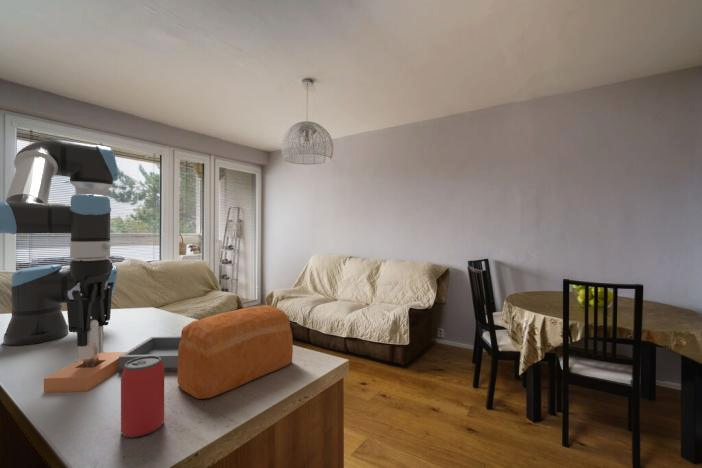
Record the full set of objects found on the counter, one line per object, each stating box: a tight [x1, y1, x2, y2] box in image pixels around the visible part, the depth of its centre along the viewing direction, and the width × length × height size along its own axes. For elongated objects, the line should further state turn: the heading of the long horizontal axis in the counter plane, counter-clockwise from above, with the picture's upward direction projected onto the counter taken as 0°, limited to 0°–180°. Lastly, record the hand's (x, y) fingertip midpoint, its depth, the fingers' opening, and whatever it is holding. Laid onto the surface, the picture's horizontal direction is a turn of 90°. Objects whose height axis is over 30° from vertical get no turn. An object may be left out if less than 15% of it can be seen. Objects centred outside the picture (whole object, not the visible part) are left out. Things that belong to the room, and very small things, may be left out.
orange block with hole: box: [43, 351, 127, 393], centre depth 78 cm, size 15×9×3 cm, turn 4°
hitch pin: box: [83, 318, 99, 368], centre depth 78 cm, size 3×3×14 cm
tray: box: [118, 335, 181, 374], centre depth 88 cm, size 15×15×4 cm
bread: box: [177, 304, 294, 400], centre depth 80 cm, size 14×26×16 cm, turn 142°
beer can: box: [120, 356, 165, 438], centre depth 58 cm, size 7×7×12 cm
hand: (90, 355), depth 78 cm, fingers closed on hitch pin, 3 cm apart
